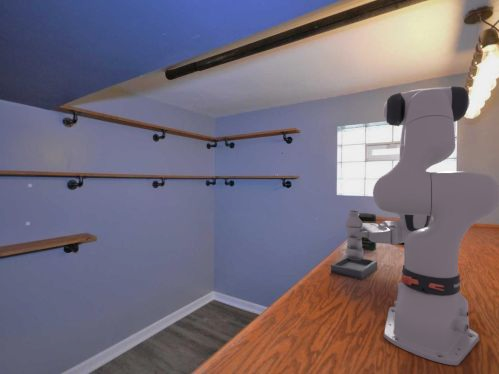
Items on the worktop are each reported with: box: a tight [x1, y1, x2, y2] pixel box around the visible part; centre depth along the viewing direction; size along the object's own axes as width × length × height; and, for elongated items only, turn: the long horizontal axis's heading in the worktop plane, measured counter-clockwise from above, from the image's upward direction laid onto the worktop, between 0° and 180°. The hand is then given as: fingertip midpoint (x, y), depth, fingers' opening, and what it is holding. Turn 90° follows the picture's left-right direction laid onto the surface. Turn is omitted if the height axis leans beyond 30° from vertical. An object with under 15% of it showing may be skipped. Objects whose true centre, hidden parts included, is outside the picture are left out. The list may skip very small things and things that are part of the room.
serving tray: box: [330, 255, 378, 281], centre depth 104 cm, size 17×12×3 cm
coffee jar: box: [359, 212, 377, 250], centre depth 136 cm, size 10×8×19 cm
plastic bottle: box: [345, 209, 365, 260], centre depth 104 cm, size 6×7×20 cm
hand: (352, 231), depth 104 cm, fingers closed on plastic bottle, 6 cm apart
